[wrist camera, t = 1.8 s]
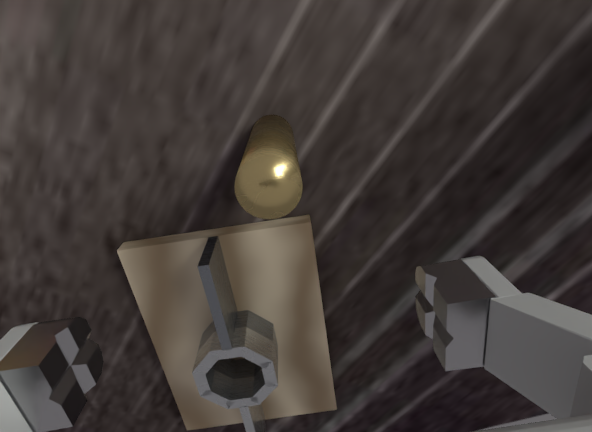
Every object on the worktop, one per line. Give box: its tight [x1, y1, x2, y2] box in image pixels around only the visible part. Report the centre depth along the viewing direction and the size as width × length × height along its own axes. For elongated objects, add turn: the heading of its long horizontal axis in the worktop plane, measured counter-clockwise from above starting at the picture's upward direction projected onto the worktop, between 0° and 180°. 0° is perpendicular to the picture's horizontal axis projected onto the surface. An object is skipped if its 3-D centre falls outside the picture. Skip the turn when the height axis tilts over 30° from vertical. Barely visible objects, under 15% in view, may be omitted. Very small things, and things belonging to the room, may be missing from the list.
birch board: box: [117, 215, 337, 430], centre depth 35 cm, size 16×22×2 cm
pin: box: [234, 115, 303, 219], centre depth 23 cm, size 3×3×12 cm
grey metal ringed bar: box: [192, 236, 278, 432], centre depth 32 cm, size 7×22×4 cm, turn 8°
